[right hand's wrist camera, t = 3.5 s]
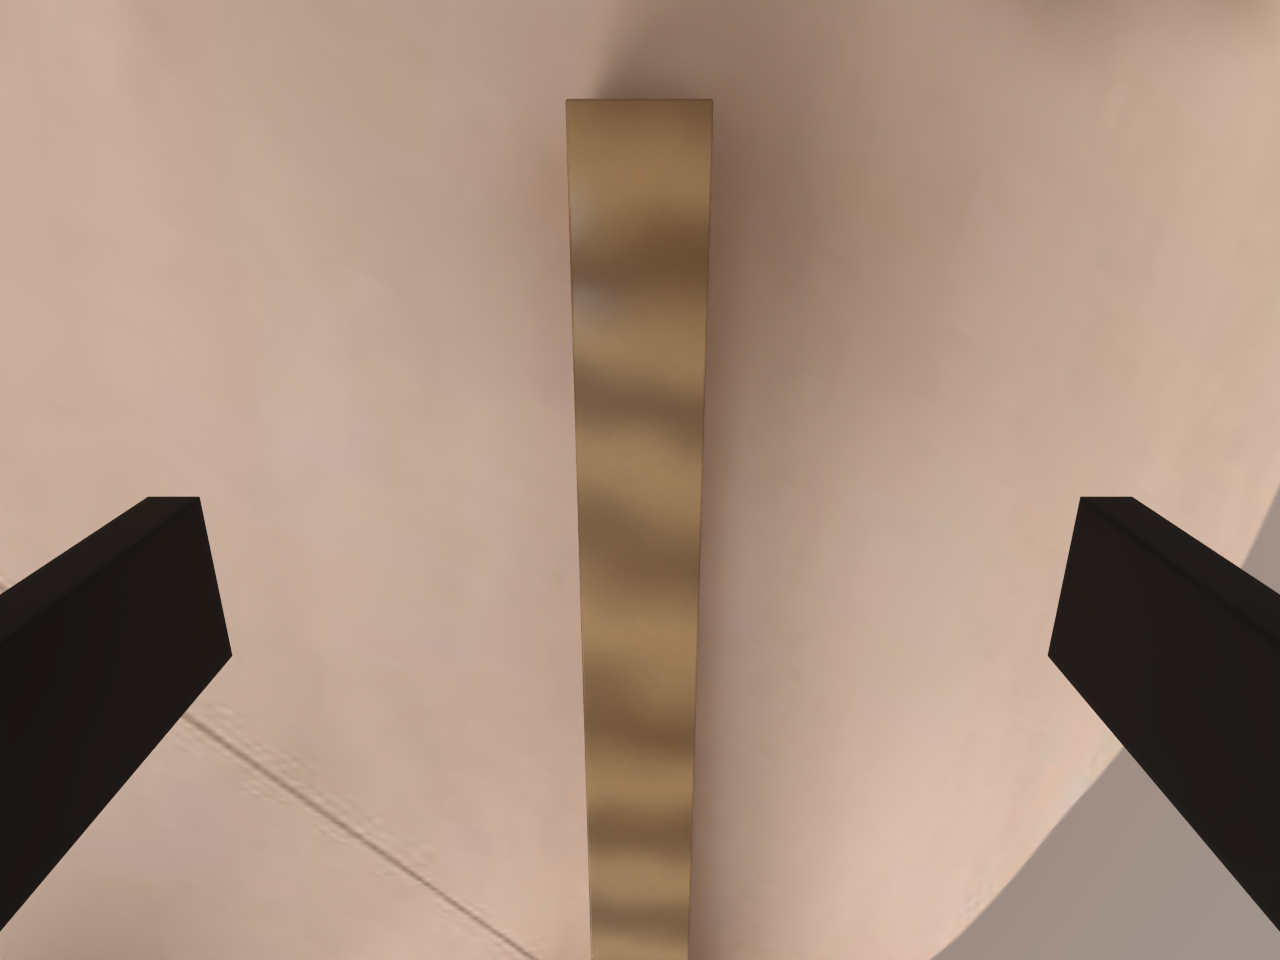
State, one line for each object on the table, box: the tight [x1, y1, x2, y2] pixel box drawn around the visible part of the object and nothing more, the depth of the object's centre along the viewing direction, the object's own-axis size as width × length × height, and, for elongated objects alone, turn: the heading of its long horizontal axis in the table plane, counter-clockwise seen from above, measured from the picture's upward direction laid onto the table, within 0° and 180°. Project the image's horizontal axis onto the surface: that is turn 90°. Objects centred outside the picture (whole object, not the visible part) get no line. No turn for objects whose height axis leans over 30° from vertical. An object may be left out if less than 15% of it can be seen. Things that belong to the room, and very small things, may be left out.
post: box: [566, 99, 713, 960], centre depth 38 cm, size 54×4×9 cm, turn 0°
